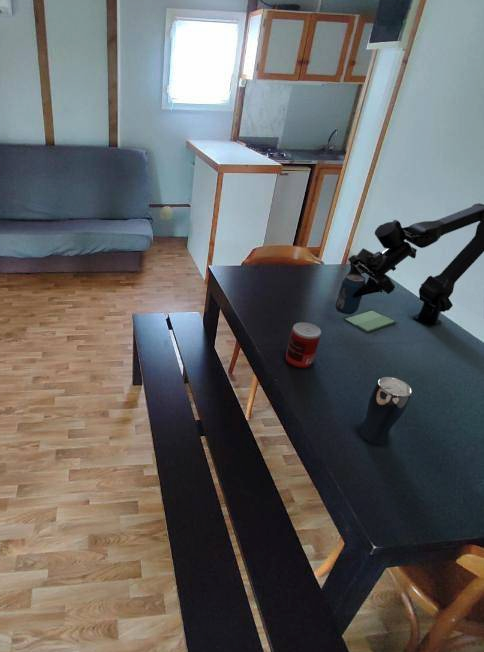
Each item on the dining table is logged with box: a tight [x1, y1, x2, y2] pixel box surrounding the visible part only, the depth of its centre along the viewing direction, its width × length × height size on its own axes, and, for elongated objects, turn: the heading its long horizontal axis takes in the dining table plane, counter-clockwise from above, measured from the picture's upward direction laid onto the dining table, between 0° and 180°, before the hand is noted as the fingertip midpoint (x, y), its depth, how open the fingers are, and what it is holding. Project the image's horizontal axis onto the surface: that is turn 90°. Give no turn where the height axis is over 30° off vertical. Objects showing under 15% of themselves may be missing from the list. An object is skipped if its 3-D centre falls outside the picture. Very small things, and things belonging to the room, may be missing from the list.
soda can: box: [334, 273, 367, 316], centre depth 132 cm, size 7×7×12 cm
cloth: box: [344, 310, 396, 333], centre depth 141 cm, size 14×9×1 cm, turn 117°
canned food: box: [285, 322, 322, 369], centre depth 118 cm, size 8×8×11 cm
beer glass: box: [358, 376, 413, 446], centre depth 92 cm, size 7×7×15 cm
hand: (347, 291), depth 131 cm, fingers closed on soda can, 7 cm apart
